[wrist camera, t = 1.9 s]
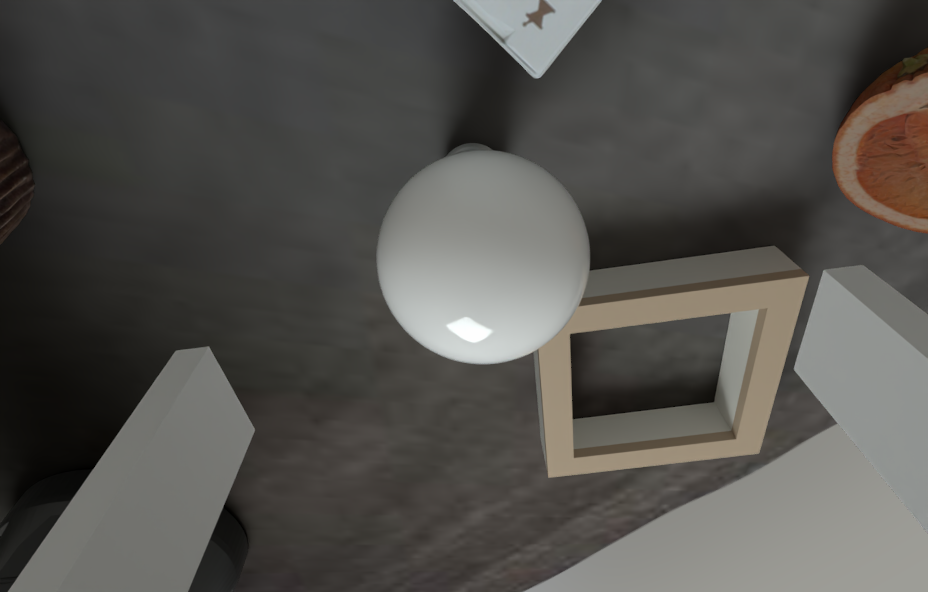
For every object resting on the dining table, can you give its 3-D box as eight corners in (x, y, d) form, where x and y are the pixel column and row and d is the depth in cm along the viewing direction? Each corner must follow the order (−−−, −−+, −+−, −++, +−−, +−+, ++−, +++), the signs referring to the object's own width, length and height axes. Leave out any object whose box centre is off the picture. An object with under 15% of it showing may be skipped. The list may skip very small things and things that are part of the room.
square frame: (540, 439, 32) (548, 477, 29) (527, 279, 25) (535, 312, 23) (735, 416, 31) (759, 453, 29) (774, 245, 24) (809, 275, 22)
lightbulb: (367, 174, 22) (311, 330, 13) (467, 55, 19) (488, 143, 10) (474, 259, 24) (491, 440, 15) (574, 163, 22) (668, 312, 13)
